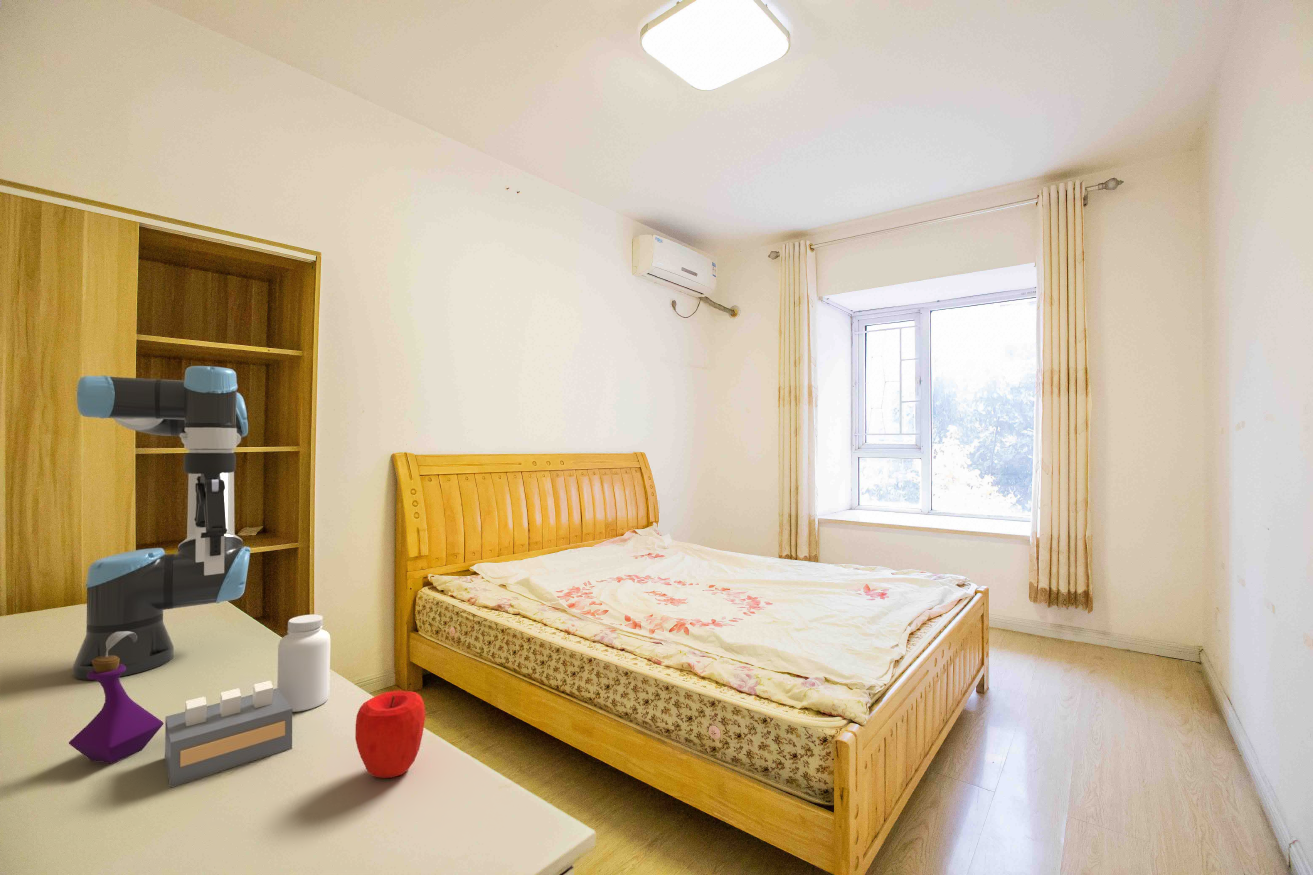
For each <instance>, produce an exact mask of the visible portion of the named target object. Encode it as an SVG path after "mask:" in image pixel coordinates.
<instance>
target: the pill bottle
mask: <svg viewBox="0 0 1313 875" xmlns="http://www.w3.org/2000/svg"><path fill="white" fill-rule="evenodd" d="M323 624H324V617H323V615H320V614H304V615H298V616H294V617H292V618H290V619H289V620H288V621H287V632H286V633H287V634H286V635H284V636H283V637H282V638H281V639H280V641H279V643H278V646H277V684H276V686H277V687H276V688H279V690H280V691H281V693H282V694H283V696H284V697H285V698H286V700H287V701H288V703H289V704H290V706H291V707H292V713H296V712H303V711H308V710H311V709H314V708H317V707H319V706H321V705H323V704H325V703H326V702H327V701H328V700H329V698H330V692H331V691H330V690H331V689H330V687H331V685H330V684H331V635H330V633H329V632H328V631H327V630H324V629H323Z"/></svg>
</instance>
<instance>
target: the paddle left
mask: <svg viewBox="0 0 1313 875" xmlns="http://www.w3.org/2000/svg"><path fill="white" fill-rule="evenodd" d="M207 706H208V704H207V699H206V696H201V697H196V698H193V699H189V700H186V701H185V708H184V709H185V711H184V712H185V721H186V727H187V726H191V725H195V724H198V723H202V722H206V712H207Z"/></svg>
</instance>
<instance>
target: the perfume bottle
mask: <svg viewBox="0 0 1313 875" xmlns="http://www.w3.org/2000/svg"><path fill="white" fill-rule="evenodd" d="M127 635H128V636H129V637H131V638H132V640H133V642H134V643H135V642H136V640H137V636H136V634H135V633H133V632H130V631H123V632H115V633H113V634H112V635H111V636H109V638H108V639H107V641H106V655H105V656H99V657H96V658H95V659H93V660H92V664H93V667H94V670H91V671H90V672H89V673H88V675H87V677H88V678H89V679H95V681H97V682H98V683H99V684H100V685H101V687H102V689H103V694H104V696H105V697H104V704H103V706H102V708H101V710H100V711H99V712H98V713H97V714H96V715H95V716H94V718H92V720H91V721H89V723H88V724H87V725H86V726H84V727H83V728H82V730H80V731H79V732H78V733H77V734H76V735H74V737H73V738H71V740H70V741H69V742H68V745H69V746H71V747H72V748H73V749H75V750H76V751H78V752H79V753H80V754H82V755H83V756H85V757H86V758H87V759H88V760H90V761H91V762H99V763H105V764H114V763H116V762H119V761H121V760H124V759H125V758H127V757H129V756H132V755H134V754H135V753H137V752H140V751H141V750H143V749H145V747H146V746H147V745H148V743H149V742H150V741H151V740H152V739H153V737H154V736H155V735H156V734H157V733H158V731H159V730H160V729H161V728H162V727H163V725H164V722H163V721H162V720H161V719H159V718H158V717H157V716H155V715H154V714H152V713H151V712H150V711H148V710H147V709H145V708H143V707H142V706H141V705H139V703H137V702H135V701H134V700H133V699H132V698H131V697H130V696H129V695H128V693H127V692H126V691H125V688H124V687H123V685H122V683H121V680H120V675H121V673H123V672H124V671H125V670H126V667H125V666H124V665H123V664H119V661H120V658H119V657H117V656H114V655H108V651H109V649H110V648H112V647H113V646H114V645H115V644H116V643H117V642H119V641H120V640H121V639H122V638H124V637H125V636H127Z"/></svg>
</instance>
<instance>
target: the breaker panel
mask: <svg viewBox="0 0 1313 875" xmlns="http://www.w3.org/2000/svg"><path fill="white" fill-rule="evenodd" d="M164 721H165V726H164V727H165V730H164V731H165V732H164V733H165V734H164V736H165V737H164V740H165V741H164V742H165V744H164V746H165V748H164V759H165V765H166V770H167V778H168V782H169V787H170V788H173V787H176V786H179V785H183V784H185V783H189V782H192V781H196V780H198V779H202V778H205V777H207V776H211V775H213V774H216V773H220V772H224V771H226V770H229V769H232V768H235V767H238V766H242V765H246V764H249V763H251V762H254V761H257V760H260V759H264V758H266V757H269V756H272V755H276V754H279V753H282V752H285V751H288V750H292V749H293V712H292V707H291V706H290V704H289V703H288V701H287V700H286V698H285V697H284V696H283V694H282V693H281V691H280V690H279V688H277V687H276V688H273V698H272V704H269V705H265V706H262V707H258V708H255V707H254V704H253V694H250V695H244V696H241V707H240V712H239V713H236V714H232V715H228V716H224V717H222V716H221V712H220V702H218V703H215V704H214V703H213V704H209V705H207V712H206V722H202V723H198V724H195V725H191V726H187V727H186V721H185V711H182V712H179V713H174V714H170V715H166V716H165V720H164Z"/></svg>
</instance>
